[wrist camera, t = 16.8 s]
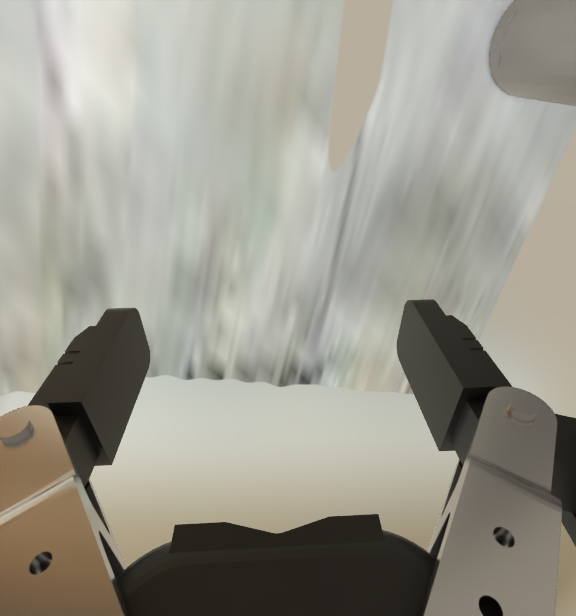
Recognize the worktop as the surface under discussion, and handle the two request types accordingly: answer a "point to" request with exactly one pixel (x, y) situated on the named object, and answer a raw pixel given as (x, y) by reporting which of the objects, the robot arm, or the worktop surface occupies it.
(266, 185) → the worktop surface
